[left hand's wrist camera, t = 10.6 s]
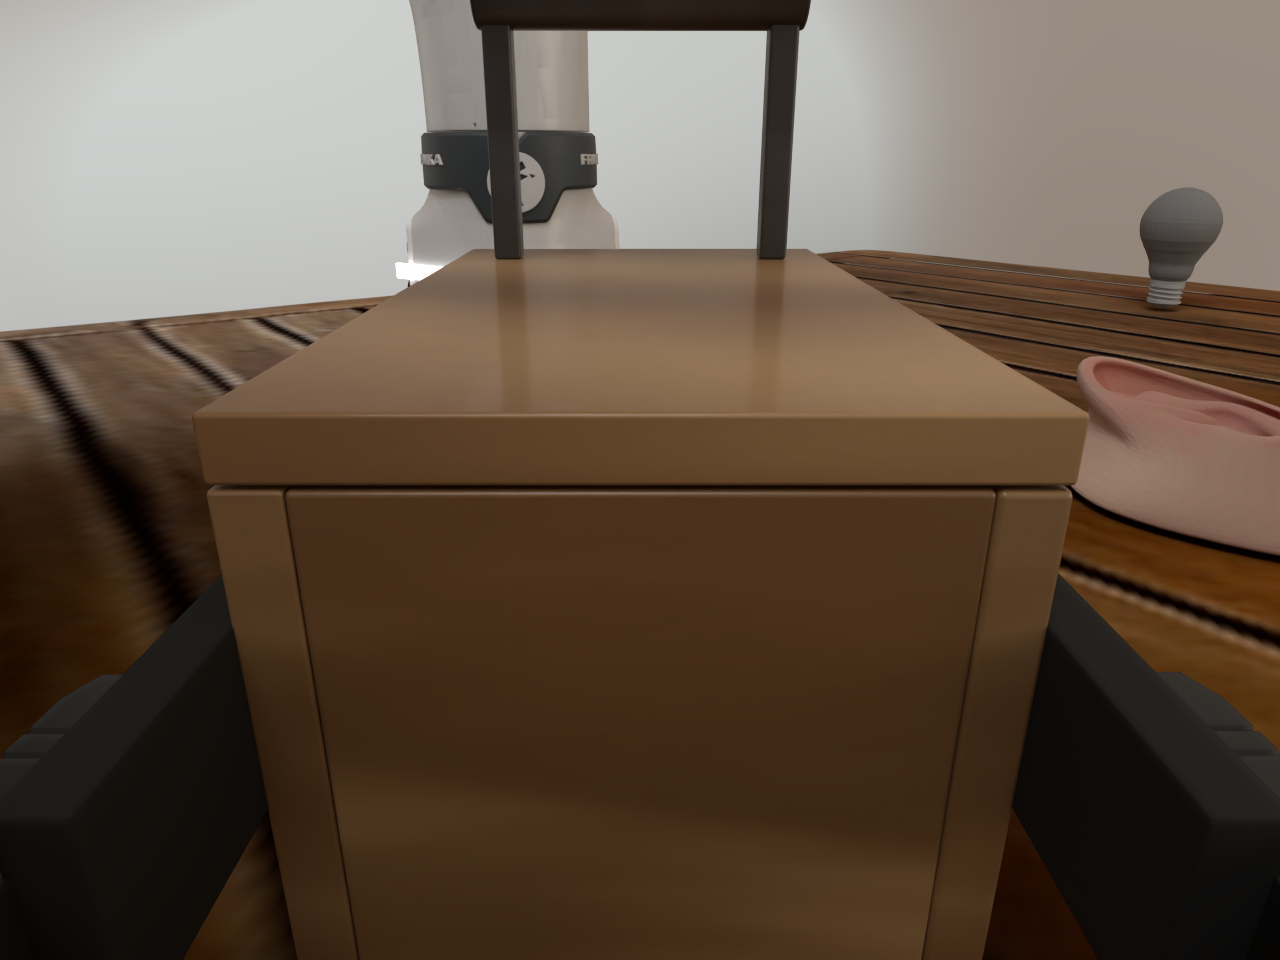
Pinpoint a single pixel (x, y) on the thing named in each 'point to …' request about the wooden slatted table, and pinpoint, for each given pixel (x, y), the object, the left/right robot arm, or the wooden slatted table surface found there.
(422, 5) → the right robot arm
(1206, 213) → the light bulb
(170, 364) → the wooden slatted table surface
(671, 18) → the lid
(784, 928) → the chest
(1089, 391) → the anatomical model
